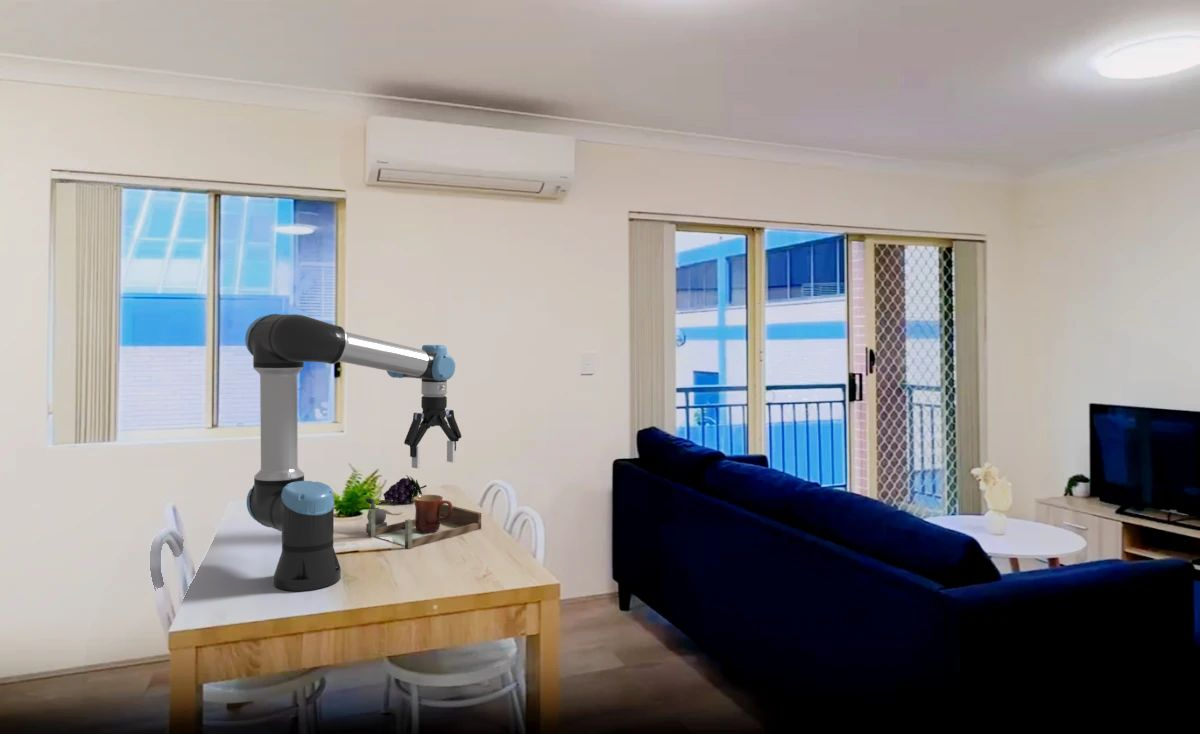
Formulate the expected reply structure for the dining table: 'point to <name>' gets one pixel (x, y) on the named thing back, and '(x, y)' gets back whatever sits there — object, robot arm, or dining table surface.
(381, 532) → the tray
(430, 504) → the mug
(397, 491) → the fruit
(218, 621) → the dining table surface
